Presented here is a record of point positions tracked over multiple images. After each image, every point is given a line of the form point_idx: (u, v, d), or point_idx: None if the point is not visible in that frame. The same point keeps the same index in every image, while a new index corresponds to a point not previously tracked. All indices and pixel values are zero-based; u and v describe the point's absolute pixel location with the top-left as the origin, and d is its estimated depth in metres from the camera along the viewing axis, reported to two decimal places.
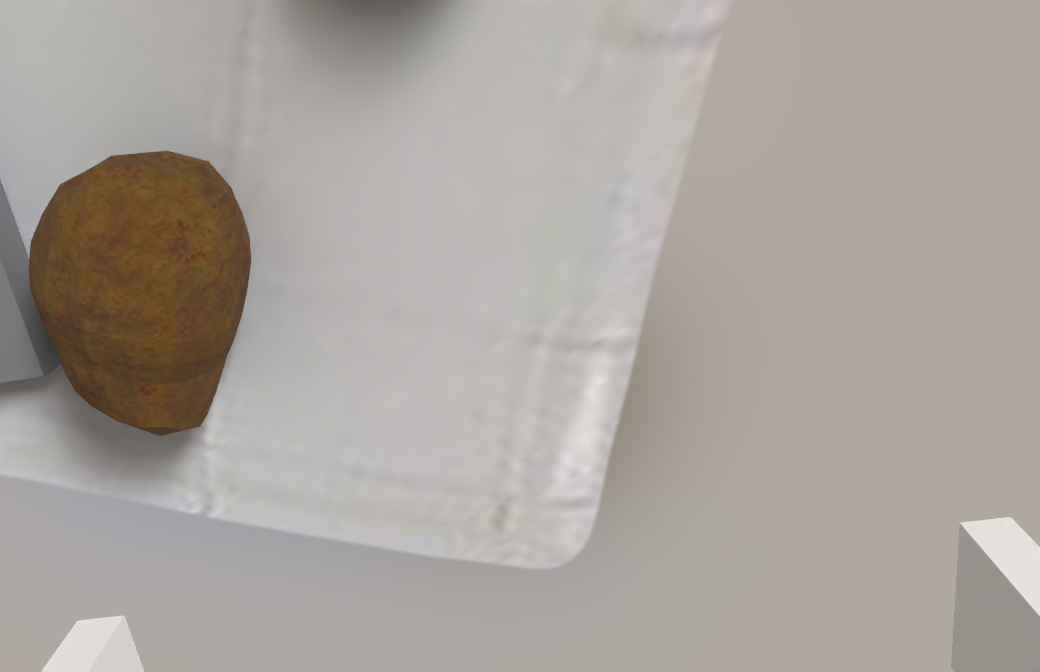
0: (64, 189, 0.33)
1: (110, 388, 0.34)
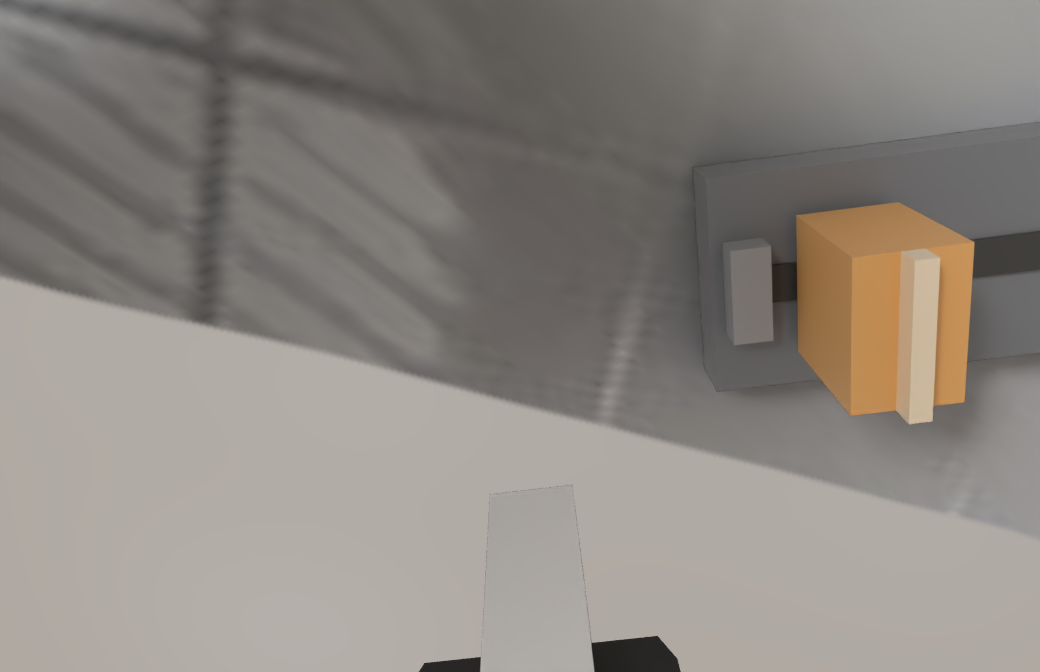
0: None
1: None
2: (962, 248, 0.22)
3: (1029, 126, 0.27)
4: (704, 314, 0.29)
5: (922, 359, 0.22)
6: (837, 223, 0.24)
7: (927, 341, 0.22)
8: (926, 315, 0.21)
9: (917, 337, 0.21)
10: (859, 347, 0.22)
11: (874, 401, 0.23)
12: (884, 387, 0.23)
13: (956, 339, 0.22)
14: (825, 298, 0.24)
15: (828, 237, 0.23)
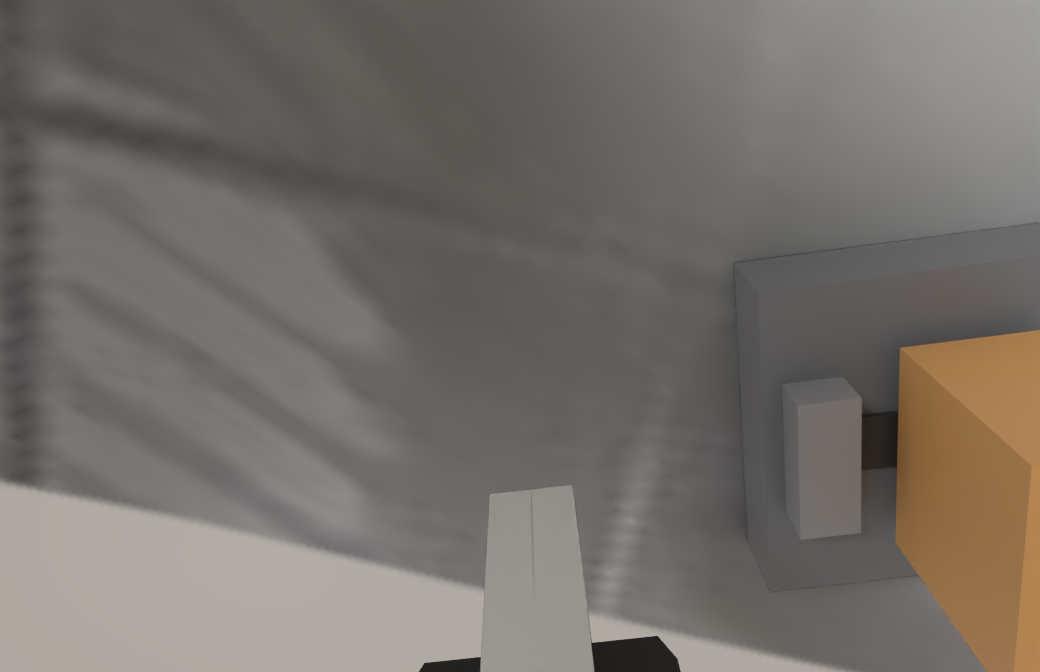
0: None
1: None
2: None
3: None
4: (749, 473, 0.20)
5: None
6: (974, 372, 0.15)
7: None
8: None
9: None
10: (1034, 605, 0.13)
11: None
12: None
13: None
14: (959, 498, 0.15)
15: (970, 406, 0.14)
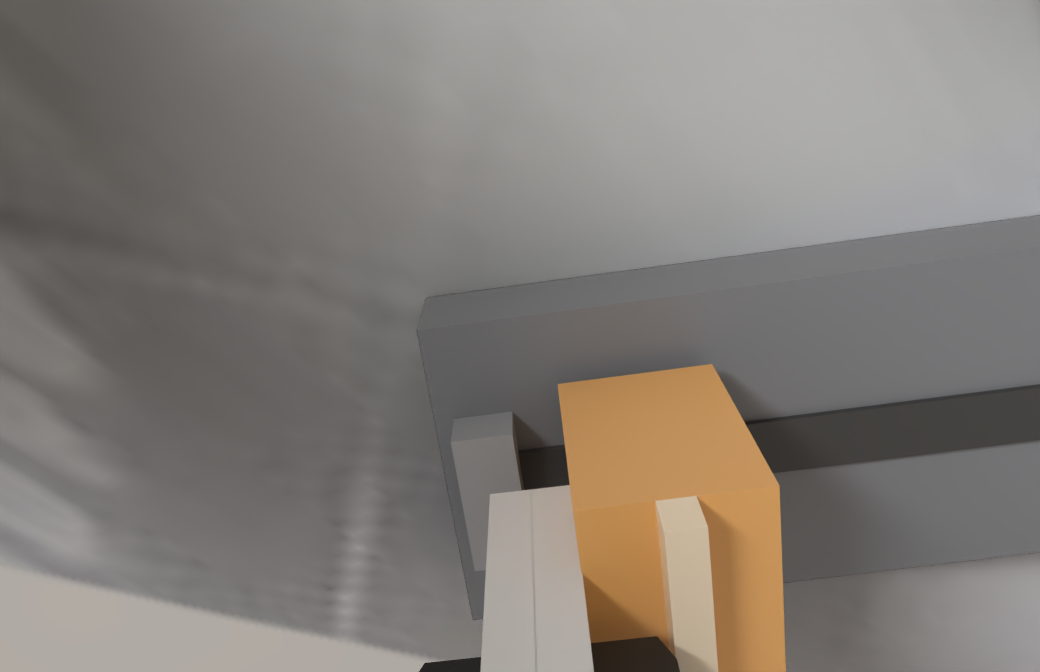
0: None
1: None
2: (761, 493, 0.13)
3: (916, 238, 0.18)
4: None
5: None
6: (601, 411, 0.16)
7: (701, 653, 0.13)
8: (695, 615, 0.12)
9: (684, 647, 0.13)
10: None
11: None
12: None
13: (765, 630, 0.13)
14: None
15: (569, 447, 0.14)
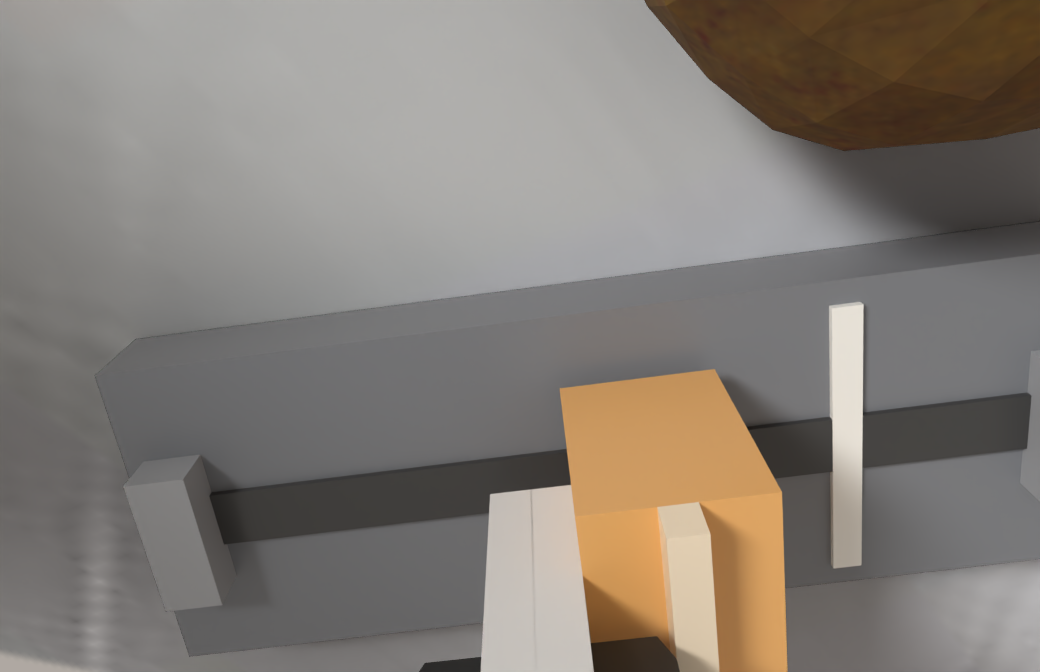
0: None
1: None
2: (763, 500, 0.13)
3: (606, 284, 0.18)
4: None
5: None
6: (603, 415, 0.16)
7: (703, 660, 0.13)
8: (697, 622, 0.12)
9: (686, 654, 0.13)
10: None
11: None
12: None
13: (767, 637, 0.13)
14: None
15: (571, 452, 0.14)
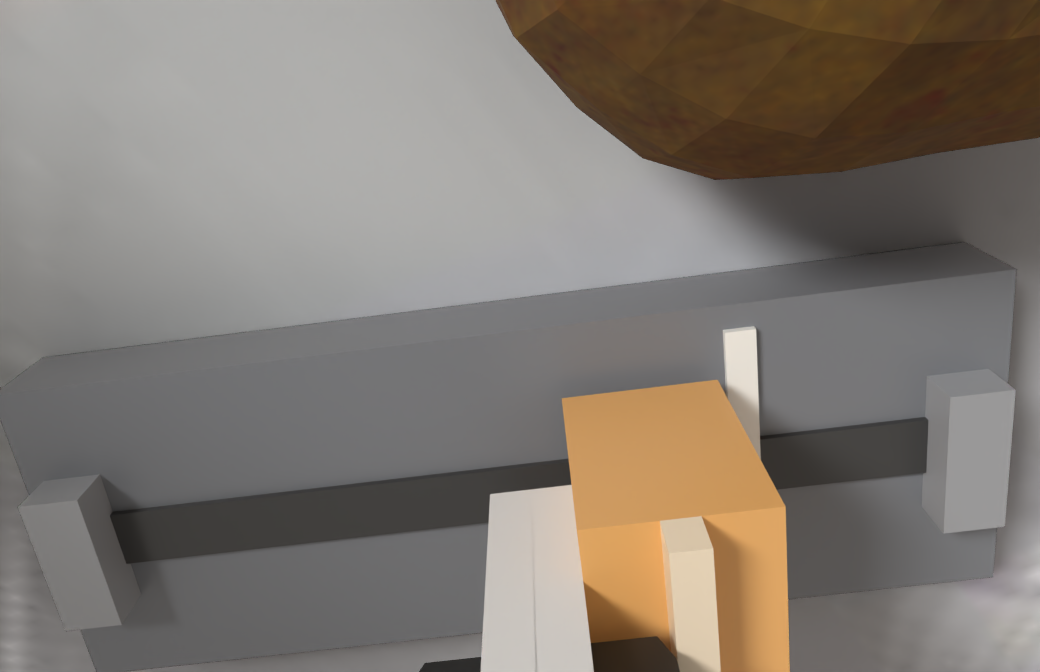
0: (522, 3, 0.11)
1: None
2: (766, 514, 0.13)
3: (508, 306, 0.18)
4: None
5: None
6: (605, 426, 0.15)
7: None
8: (699, 637, 0.12)
9: (688, 669, 0.12)
10: None
11: None
12: None
13: (769, 652, 0.13)
14: None
15: (573, 464, 0.14)
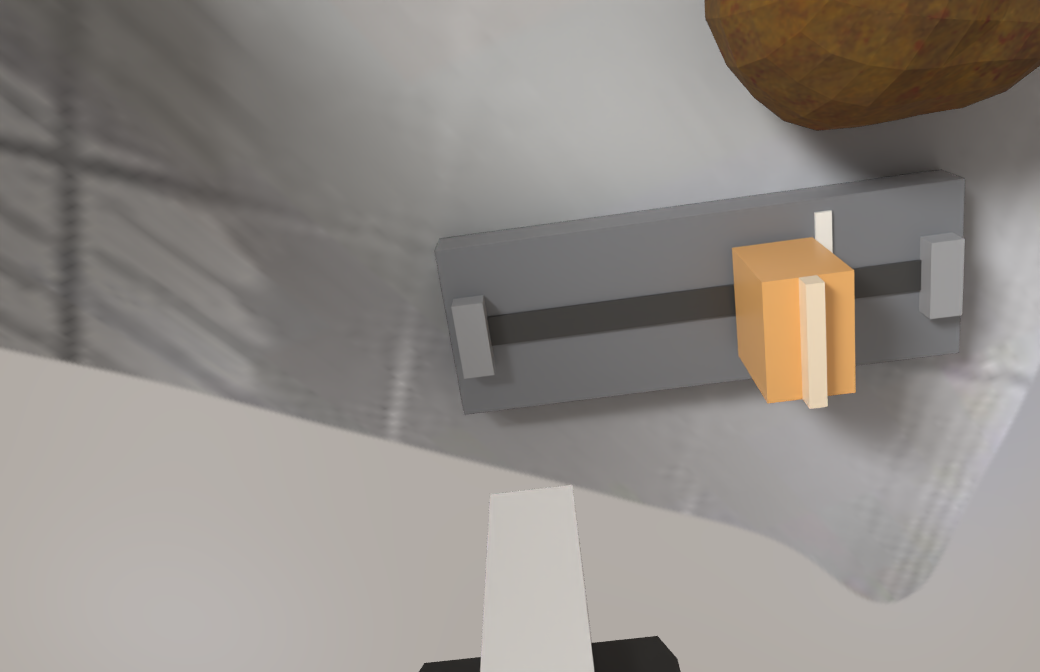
0: (746, 54, 0.27)
1: (1025, 14, 0.25)
2: (845, 274, 0.29)
3: (696, 206, 0.34)
4: None
5: (816, 359, 0.29)
6: (760, 254, 0.31)
7: (819, 345, 0.28)
8: (817, 325, 0.28)
9: (811, 342, 0.28)
10: (771, 350, 0.29)
11: (785, 392, 0.30)
12: (792, 381, 0.30)
13: (845, 344, 0.29)
14: (750, 312, 0.31)
15: (749, 266, 0.30)
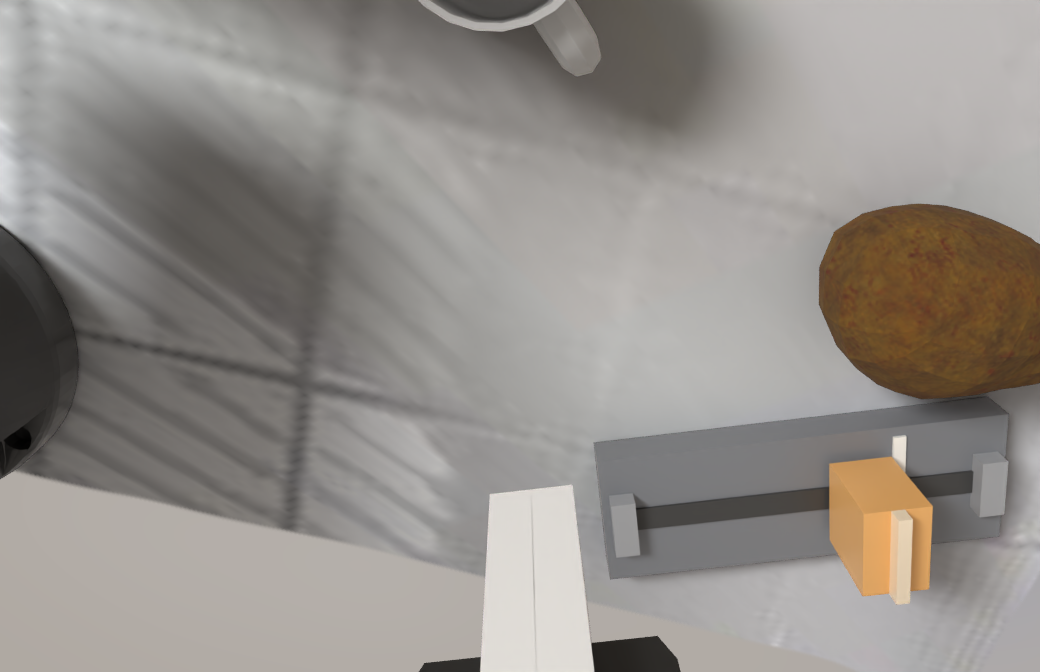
0: (858, 353, 0.37)
1: None
2: (926, 509, 0.38)
3: (798, 423, 0.44)
4: (603, 528, 0.46)
5: (903, 570, 0.38)
6: (854, 476, 0.41)
7: (906, 561, 0.38)
8: (905, 548, 0.38)
9: (900, 559, 0.38)
10: (868, 560, 0.39)
11: (876, 588, 0.40)
12: (882, 581, 0.40)
13: (923, 556, 0.39)
14: (847, 523, 0.41)
15: (849, 491, 0.40)
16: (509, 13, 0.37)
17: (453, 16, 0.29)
